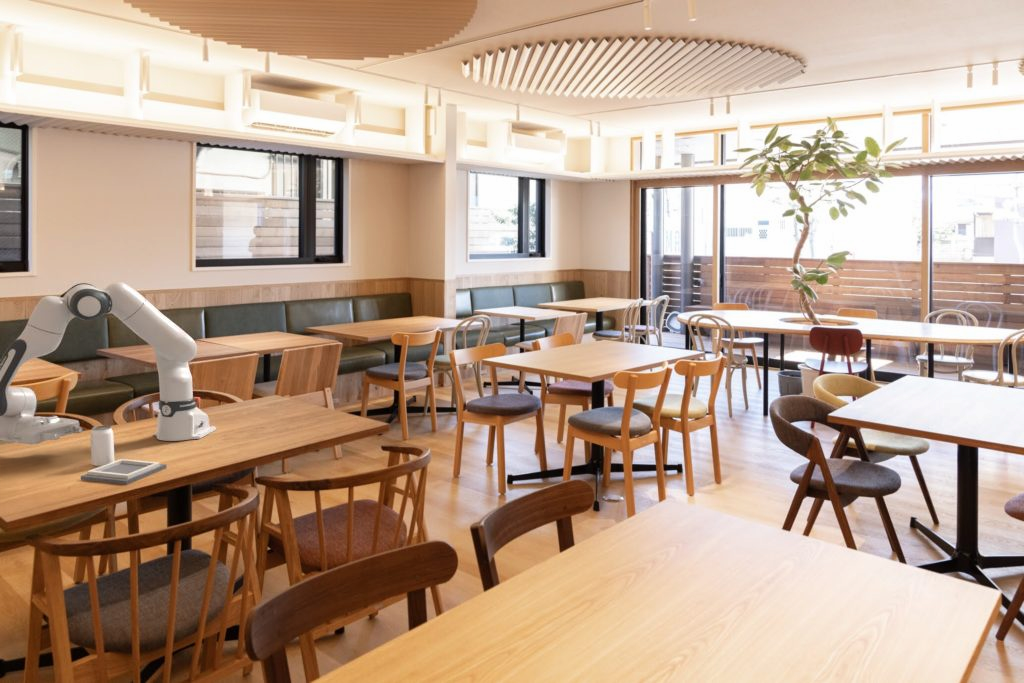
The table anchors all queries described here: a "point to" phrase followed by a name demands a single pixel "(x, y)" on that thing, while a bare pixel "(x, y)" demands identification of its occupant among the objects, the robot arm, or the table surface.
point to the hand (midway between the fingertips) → (69, 433)
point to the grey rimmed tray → (123, 471)
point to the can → (102, 445)
